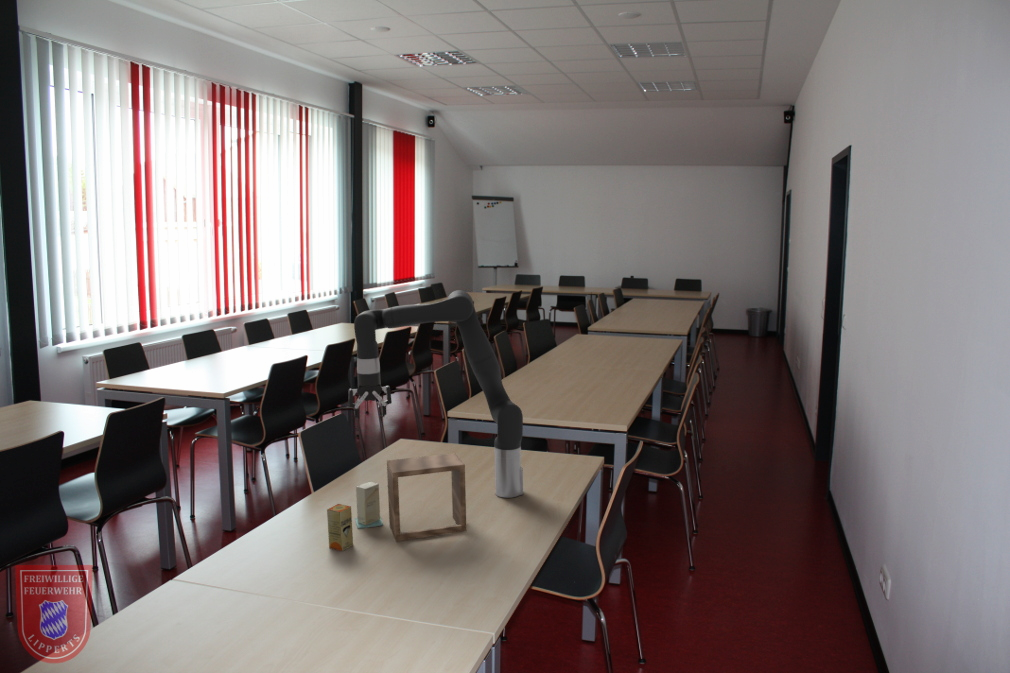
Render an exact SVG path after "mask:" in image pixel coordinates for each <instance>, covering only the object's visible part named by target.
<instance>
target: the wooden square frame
mask: <svg viewBox="0 0 1010 673" xmlns="http://www.w3.org/2000/svg"><path fill="white" fill-rule="evenodd" d="M386 470H387V472H386V474H387V477H386V478H387V495H388V496H387V497H388V519H389V520H388V523H389V528H390V530H391V534H392V536H393V539H394V542H400V541H406V540H407V541H408V540H414V539H422V538H427V537H434V536H435V537H436V536H442V535H448V534H454V533H462V532H467V503H466V502H467V499H466V496H467V495H466V493H467V492H466V465H465V462H464V461H463V460H462V459H461V458H460V457H459V455H458V454H457V453H456V452H452V453H444V454H434V455H425V456H415V457H407V458H399V459H398V458H397V459H389V460H386ZM445 472H446V473H447V472H451V474H450V475H451V502H452V504H451V506H452V508H451V509H452V519H453V520H454V521H455V523H456V524H454V525H447V526H440V527H434V528H425V529H419V530H418V529H417V530H411V531H406V532H405V531H404V532H401V517H400V516H401V514H400V494H399V492H400V490H399V478H404V477H405V478H406V477H412V476H420V475H427V474H428V475H430V474H436V473H437V474H439V473H445Z"/></svg>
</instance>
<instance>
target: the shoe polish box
mask: <svg viewBox="0 0 1010 673" xmlns="http://www.w3.org/2000/svg"><path fill="white" fill-rule="evenodd" d="M326 514H327V515H326V518H327V530H328V531H327V532H328V533H327V534H328V548H329V549H331V548H332V550H336V551H339V552H343V551H345V550H347V549H348V548H350V547H352V546H354V536H353V519H352V518H353V516H352V515H353V514H352V505H351V506H350V505H345V504H341V503H337V504H335V505H332V506H331V507H329V508H327V510H326Z"/></svg>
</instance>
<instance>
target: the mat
mask: <svg viewBox="0 0 1010 673" xmlns="http://www.w3.org/2000/svg"><path fill="white" fill-rule="evenodd" d="M354 520H355V524H357V525H356V527H357V530H359V529H366V528H375V527H382V526H384V523H383V520H382V517H381V516H380V520H378V521H376V522H373V523H371V524H368V525H364V524H361V523H358V519H357V517H355V518H354Z"/></svg>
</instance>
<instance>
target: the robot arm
mask: <svg viewBox="0 0 1010 673" xmlns="http://www.w3.org/2000/svg"><path fill="white" fill-rule="evenodd" d="M474 304H475V303H474V300H473V298H472V296H471V295H470V294H468V292H466V290H465V291H464V290H461V289H459V290H454V291H452V292H451V293H450V294H449V295H448V296H447V298H446V299H444V300H442V301H441V300H440V301H438V302H433V303H428V304H427V303H426V304H403V305H397V306H392V307H387V308H380V309H370V310H365V311H362V312H361V313H359V314H358V315H357V316H355V318H354V321H353V323H354V324H353V325H354V326H353V327H354V328H353V330H354V335H355V341H356V357H357V361H356V373H357V388H351V387H350V388H348V397H347V398H348V401H347V402H348V403H347V404H348V406H349V408H353V412H354V413H353V414H354V418H356V420H360V408H359V407H360V405H361V404H363V402H364V401H365V402H369V401H376V400H378V401H379V402H380V404H381V406H380V407H381V417H382V418H385V416H386V415H387V406H388V405H391V404H392V403H393V402H392V393H391V387H390V385H385V386H382V385H381V366H380V365H381V364H380V358H379V357H380V356H379V343H378V342H377V338H376V331H377V330H383V329H397V328H402V327H408V326H412V325H413V326H414V325H415V326H416V325H420V324H427V323H441V322H455V324H456V326H457V327H458V330H459V333H460V335H461V339H462V343H463V347H464V351H465V354H466V357H467V361H468V363H469V365H470V367H471V370H472V372H473V374H474V376H475V379H476V381H477V382H478V385H479V386H480V388H481V389H482V391H483V394H484V396H485V400H486V403H487V406H488V409H489V412H490V415H491V419H492V420H493V422H494V423H495V424H497V425H496V426H497V436H496V437H495V439H494V444H493V446H494V448H493V449H494V484H495V485H494V491H495V492H494V494H495V495H496V496H497V497H499V498H508V499H510V498H511V499H512V498H515V497H520V496H521V495H524V471H523V470H524V469H523V467H522V454H521V453H522V446H521V445H522V444H521V443H522V440H523V436H524V435H523V434H524V433H523V431H524V430H523V429H524V427H523V426H524V418H523V417H524V416H523V412H522V409H521V407H519V406H518V405H517V404H515V402H513V401H512V400H511V398H510V396H509V395H508V392H506V390H505V387H504V384H503V380H502V374H501V373H502V372H501V367H500V363H499V360H498V357H497V356H496V354H495V351H494V349H493V347H492V344H491V342H490V341H489V339H488V336H487V335H486V333H485V331H484V329H483V327H482V325H481V323H480V320H479V317H478V314H477V312H476V308H475V305H474ZM382 392H384V394H386V400H385V399H383V397H382V396H381V393H382ZM356 394H358V398H357V399H356V401H355V403H354V399H353V398H354V396H355V395H356Z"/></svg>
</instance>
